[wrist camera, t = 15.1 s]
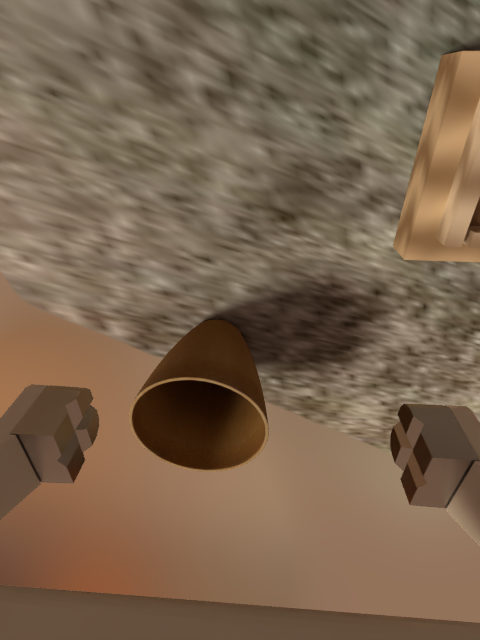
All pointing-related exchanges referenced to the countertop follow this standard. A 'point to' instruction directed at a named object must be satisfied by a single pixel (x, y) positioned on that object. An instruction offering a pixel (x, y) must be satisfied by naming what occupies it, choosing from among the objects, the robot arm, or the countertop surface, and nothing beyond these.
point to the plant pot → (203, 402)
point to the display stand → (446, 170)
